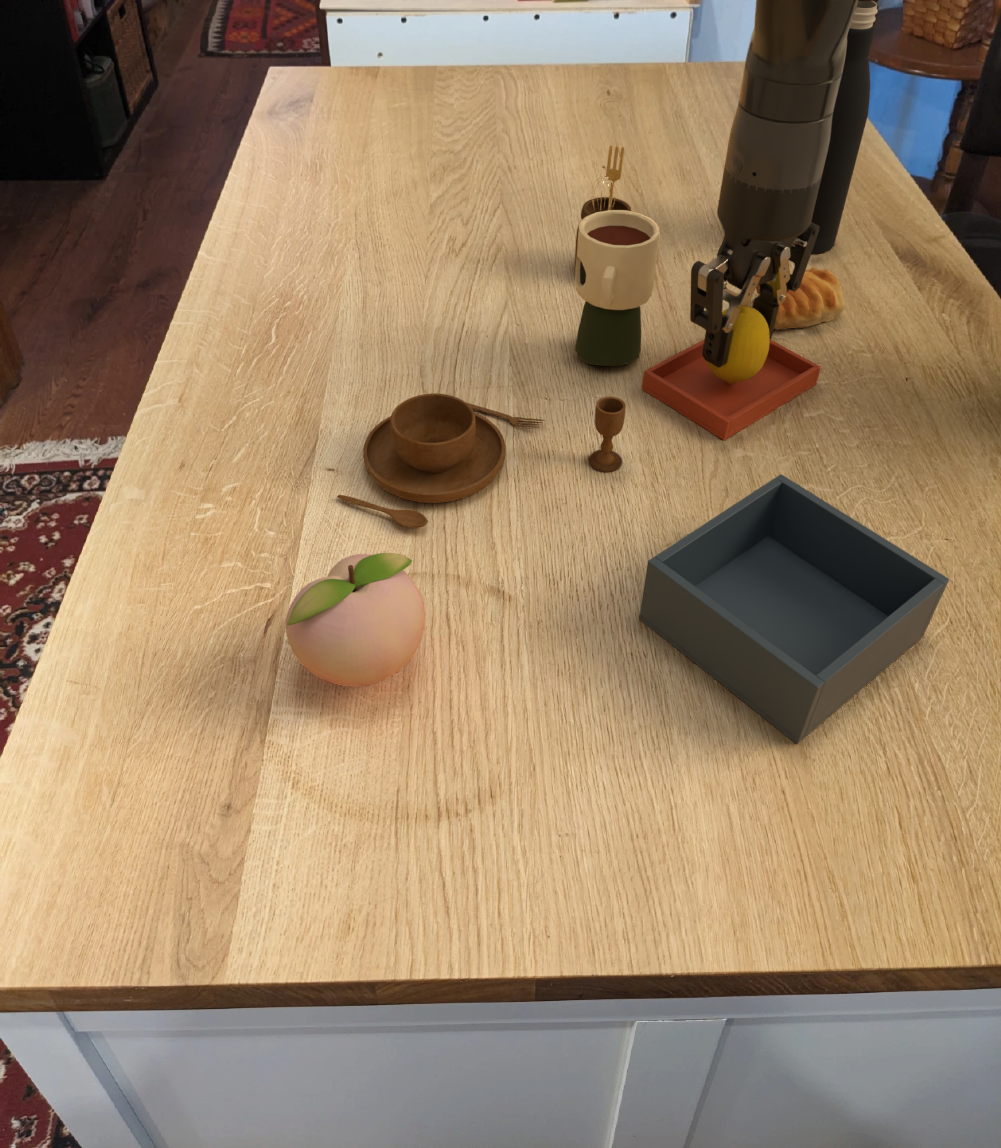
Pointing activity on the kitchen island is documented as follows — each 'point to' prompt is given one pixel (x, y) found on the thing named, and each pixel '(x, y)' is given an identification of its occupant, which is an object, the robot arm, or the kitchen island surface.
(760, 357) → the lemon
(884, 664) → the bin
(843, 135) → the black water bottle
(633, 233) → the character mug
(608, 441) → the place setting
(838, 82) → the robot arm
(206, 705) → the kitchen island surface
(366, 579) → the decorative fruit
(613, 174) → the utensil holder
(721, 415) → the tray
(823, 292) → the pastry
